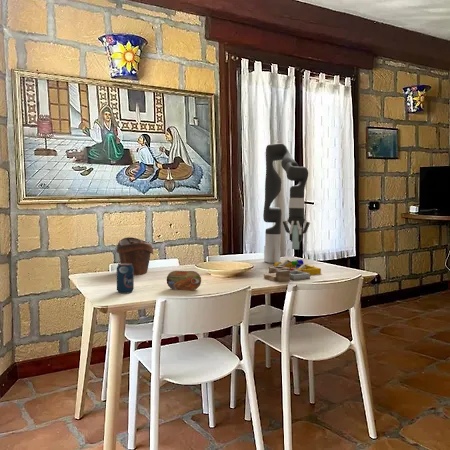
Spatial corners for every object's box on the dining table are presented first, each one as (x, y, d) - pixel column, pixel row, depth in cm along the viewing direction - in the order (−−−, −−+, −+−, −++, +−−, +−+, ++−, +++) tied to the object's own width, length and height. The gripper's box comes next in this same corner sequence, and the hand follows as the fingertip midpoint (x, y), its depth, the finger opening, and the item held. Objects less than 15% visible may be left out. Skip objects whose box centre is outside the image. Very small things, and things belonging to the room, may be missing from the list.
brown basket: (143, 276, 225) (143, 240, 224) (108, 274, 231) (108, 239, 230) (160, 271, 241) (160, 237, 240) (127, 269, 248) (127, 236, 247)
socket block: (268, 272, 241) (268, 267, 240) (280, 271, 245) (280, 266, 244) (277, 275, 234) (278, 269, 234) (290, 273, 238) (290, 268, 238)
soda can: (127, 294, 187) (127, 265, 186) (113, 292, 190) (113, 264, 189) (136, 291, 194) (136, 263, 193) (123, 289, 196) (122, 262, 195)
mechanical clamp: (303, 265, 229) (272, 257, 256) (303, 278, 230) (272, 268, 257) (333, 263, 237) (300, 256, 264) (332, 275, 238) (299, 266, 265)
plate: (263, 279, 226) (264, 274, 225) (276, 277, 230) (276, 272, 230) (273, 281, 219) (274, 276, 219) (286, 280, 223) (286, 275, 223)
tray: (281, 276, 230) (281, 271, 230) (296, 275, 235) (296, 270, 235) (293, 280, 221) (293, 275, 221) (309, 278, 226) (309, 273, 226)
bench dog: (275, 280, 219) (276, 270, 218) (285, 279, 222) (285, 269, 222) (279, 282, 216) (279, 271, 216) (289, 280, 219) (289, 270, 219)
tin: (166, 289, 198) (166, 270, 197) (168, 288, 201) (168, 269, 200) (200, 291, 195) (200, 271, 195) (201, 289, 198) (201, 270, 198)
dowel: (291, 249, 226) (291, 224, 225) (293, 248, 229) (293, 224, 228) (298, 249, 225) (298, 225, 224) (300, 248, 228) (300, 224, 227)
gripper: (280, 206, 225) (279, 241, 226) (308, 207, 219) (307, 243, 220) (285, 206, 232) (284, 240, 233) (312, 207, 226) (311, 241, 227)
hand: (295, 241), depth 227 cm, fingers closed on dowel, 3 cm apart
